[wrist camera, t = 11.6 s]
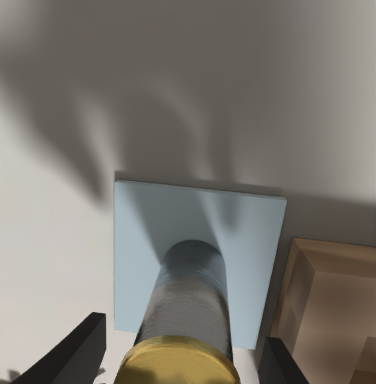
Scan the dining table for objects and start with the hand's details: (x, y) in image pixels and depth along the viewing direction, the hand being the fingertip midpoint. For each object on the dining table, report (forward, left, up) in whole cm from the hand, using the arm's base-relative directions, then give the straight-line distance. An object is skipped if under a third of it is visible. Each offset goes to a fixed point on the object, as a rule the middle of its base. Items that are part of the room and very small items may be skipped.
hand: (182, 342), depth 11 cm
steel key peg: (0, 0, -5) cm, 5 cm away
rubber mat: (0, 0, -6) cm, 6 cm away
